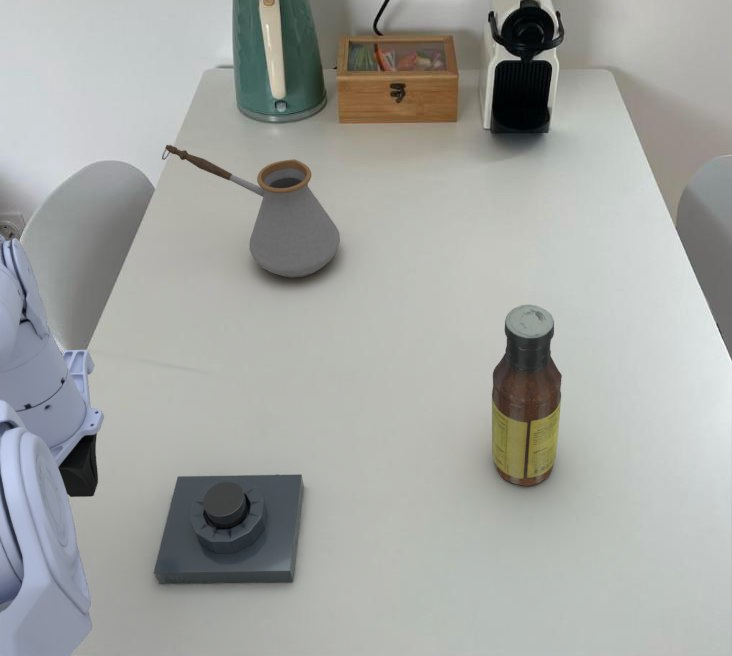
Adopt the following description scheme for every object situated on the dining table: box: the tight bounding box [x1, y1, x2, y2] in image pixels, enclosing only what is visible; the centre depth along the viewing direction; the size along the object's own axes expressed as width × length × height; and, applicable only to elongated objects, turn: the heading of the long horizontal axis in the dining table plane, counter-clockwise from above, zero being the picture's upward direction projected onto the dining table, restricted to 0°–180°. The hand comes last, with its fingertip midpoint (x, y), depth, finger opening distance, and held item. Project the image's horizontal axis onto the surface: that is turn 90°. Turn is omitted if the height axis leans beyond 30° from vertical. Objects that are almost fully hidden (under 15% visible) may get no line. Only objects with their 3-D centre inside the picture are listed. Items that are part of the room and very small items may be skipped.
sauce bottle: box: [491, 304, 563, 487], centre depth 73 cm, size 7×6×20 cm
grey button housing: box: [153, 473, 305, 585], centre depth 74 cm, size 12×10×4 cm
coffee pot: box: [161, 144, 341, 279], centre depth 101 cm, size 21×12×15 cm, turn 74°
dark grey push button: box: [203, 482, 248, 529], centre depth 72 cm, size 4×4×2 cm
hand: (84, 489), depth 67 cm, fingers closed
